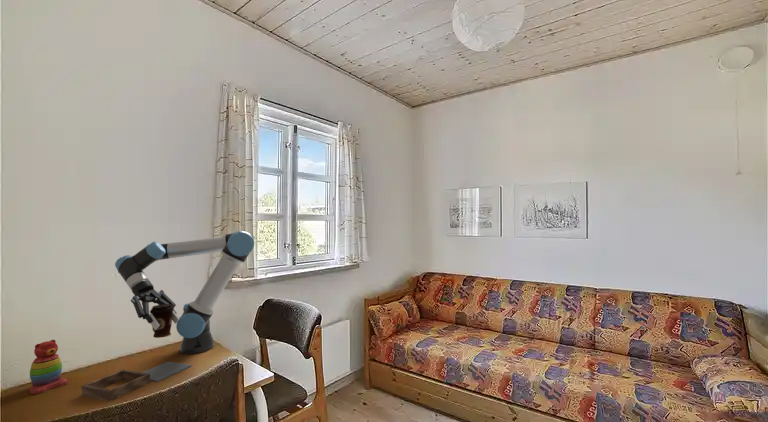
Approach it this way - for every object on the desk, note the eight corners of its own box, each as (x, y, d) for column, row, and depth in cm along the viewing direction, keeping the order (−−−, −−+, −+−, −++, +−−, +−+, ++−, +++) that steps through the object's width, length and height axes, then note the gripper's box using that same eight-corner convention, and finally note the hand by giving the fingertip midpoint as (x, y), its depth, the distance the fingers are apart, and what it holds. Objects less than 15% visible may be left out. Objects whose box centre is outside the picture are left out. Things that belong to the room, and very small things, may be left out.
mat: (168, 362, 164) (168, 361, 164) (191, 366, 159) (191, 364, 159) (133, 377, 149) (133, 376, 149) (157, 382, 144) (157, 380, 144)
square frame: (123, 377, 149) (123, 369, 149) (150, 382, 144) (150, 373, 144) (81, 395, 135) (81, 386, 135) (109, 401, 130) (109, 391, 130)
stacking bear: (34, 395, 136) (34, 348, 136) (22, 390, 141) (22, 344, 141) (69, 383, 146) (69, 339, 146) (57, 379, 150) (57, 336, 151)
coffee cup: (162, 339, 150) (161, 308, 150) (145, 339, 151) (144, 308, 151) (178, 333, 158) (177, 303, 158) (161, 332, 160) (161, 302, 160)
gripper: (158, 286, 170) (184, 323, 164) (110, 296, 150) (138, 338, 144) (166, 275, 169) (193, 312, 163) (119, 283, 148) (148, 325, 143)
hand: (167, 324), depth 154 cm, fingers closed on coffee cup, 9 cm apart
